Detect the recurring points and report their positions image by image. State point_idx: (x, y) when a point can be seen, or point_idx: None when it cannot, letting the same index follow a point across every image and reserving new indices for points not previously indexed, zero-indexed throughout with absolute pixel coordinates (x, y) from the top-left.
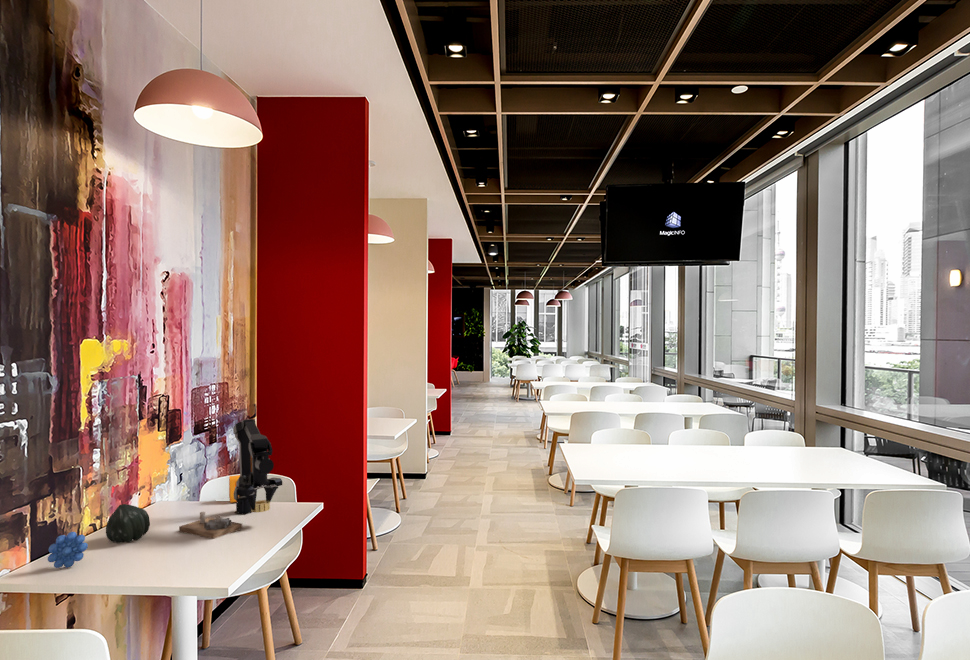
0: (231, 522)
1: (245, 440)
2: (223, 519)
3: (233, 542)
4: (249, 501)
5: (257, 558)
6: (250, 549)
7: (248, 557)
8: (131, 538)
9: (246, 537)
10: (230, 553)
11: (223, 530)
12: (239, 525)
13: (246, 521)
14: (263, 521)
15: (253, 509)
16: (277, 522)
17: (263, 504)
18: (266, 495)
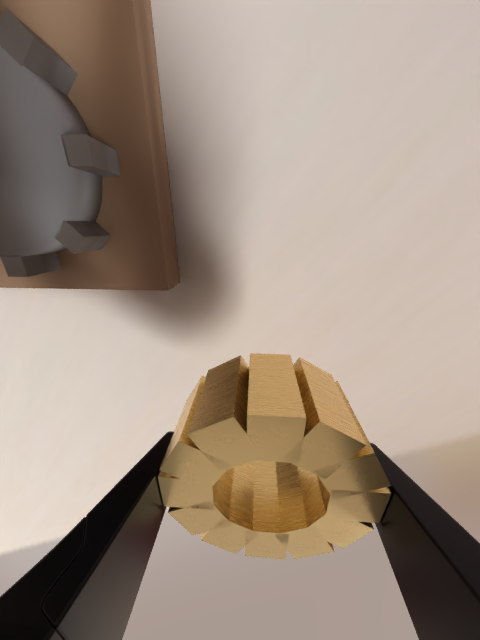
0: (140, 178)
1: None
2: (33, 145)
3: (52, 403)
4: (80, 543)
5: (52, 536)
6: (67, 491)
7: (37, 518)
8: None
9: (117, 405)
10: (5, 466)
11: (29, 286)
12: (151, 288)
13: (306, 161)
14: (342, 291)
15: None
16: (347, 380)
17: (231, 547)
18: (454, 583)
